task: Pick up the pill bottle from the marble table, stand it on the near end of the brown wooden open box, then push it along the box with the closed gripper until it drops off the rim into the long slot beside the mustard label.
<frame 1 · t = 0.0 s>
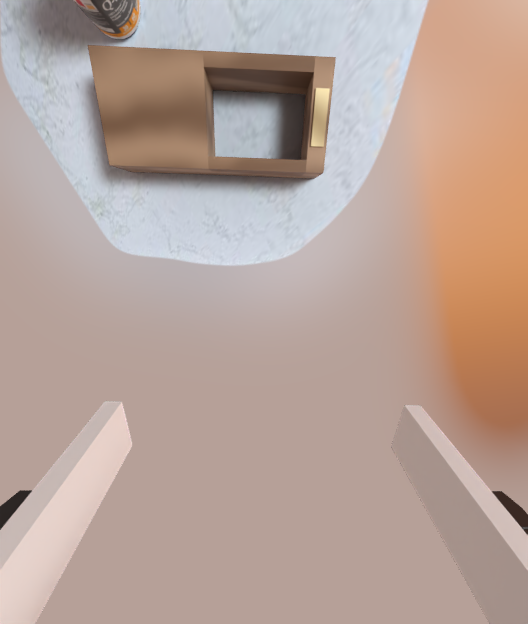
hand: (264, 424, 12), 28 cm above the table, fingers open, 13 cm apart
brown wooden open box: (222, 129, 30), on the table
pill bottle: (116, 7, 26), on the table
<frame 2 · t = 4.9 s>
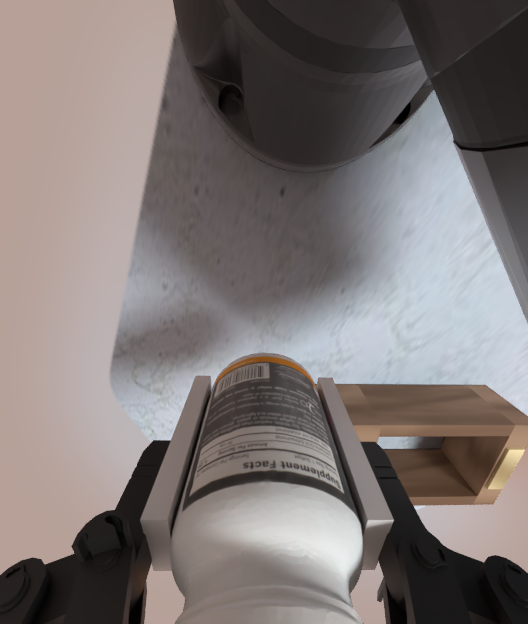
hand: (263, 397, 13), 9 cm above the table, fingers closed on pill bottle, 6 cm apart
brown wooden open box: (358, 423, 26), on the table
pill bottle: (263, 388, 14), point 8 cm above the table, touching gripper
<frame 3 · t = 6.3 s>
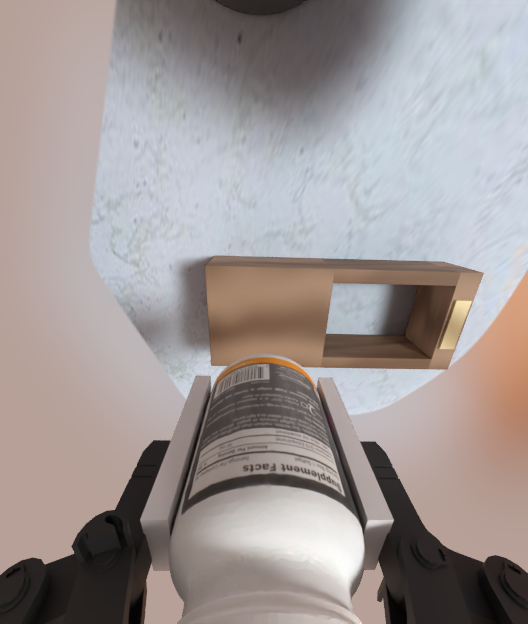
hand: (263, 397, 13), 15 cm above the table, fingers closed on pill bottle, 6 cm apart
brown wooden open box: (324, 303, 27), on the table
pill bottle: (263, 389, 14), point 14 cm above the table, touching gripper
when the fingers open (6 cm above the table, at t = 8.1 s): pill bottle stays where it is, resting on brown wooden open box.
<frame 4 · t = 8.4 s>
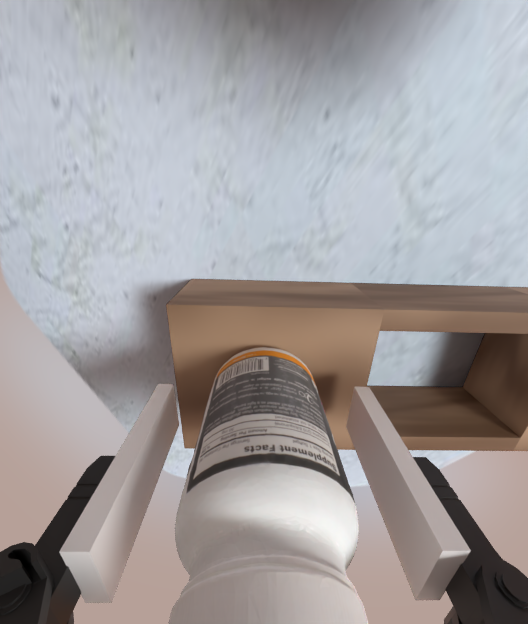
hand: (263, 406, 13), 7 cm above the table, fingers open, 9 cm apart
brown wooden open box: (352, 345, 19), on the table
pill bottle: (263, 382, 14), point 5 cm above the table, touching brown wooden open box
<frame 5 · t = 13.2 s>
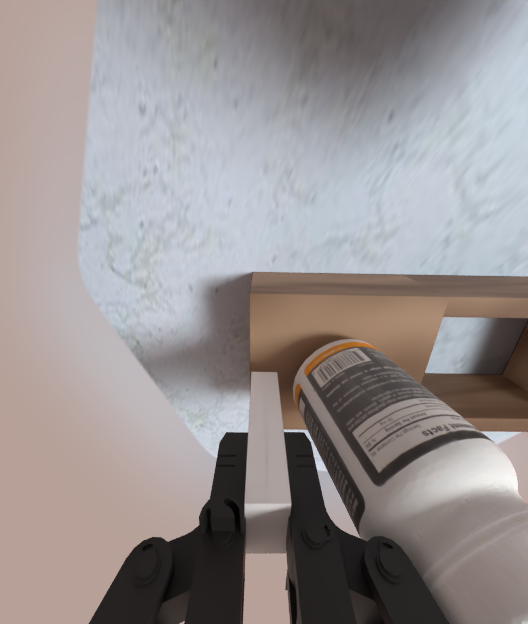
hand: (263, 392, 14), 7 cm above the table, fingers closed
brown wooden open box: (399, 334, 20), on the table
pill bottle: (332, 373, 15), point 5 cm above the table, touching brown wooden open box, gripper
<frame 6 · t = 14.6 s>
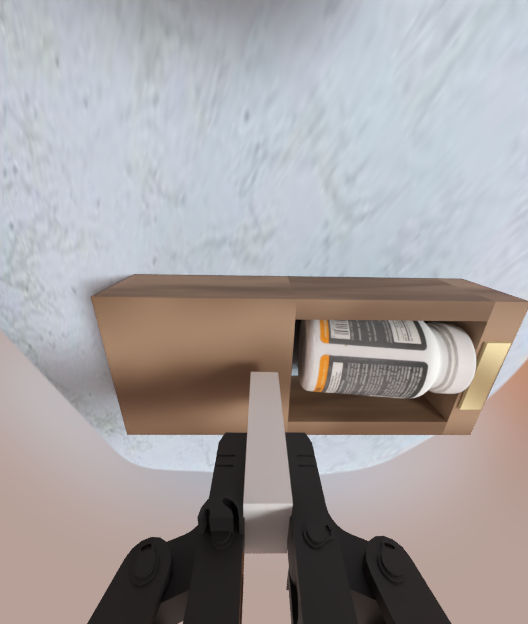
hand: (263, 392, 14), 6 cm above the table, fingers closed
brown wooden open box: (296, 337, 20), on the table
pill bottle: (298, 347, 17), point 3 cm above the table, touching brown wooden open box
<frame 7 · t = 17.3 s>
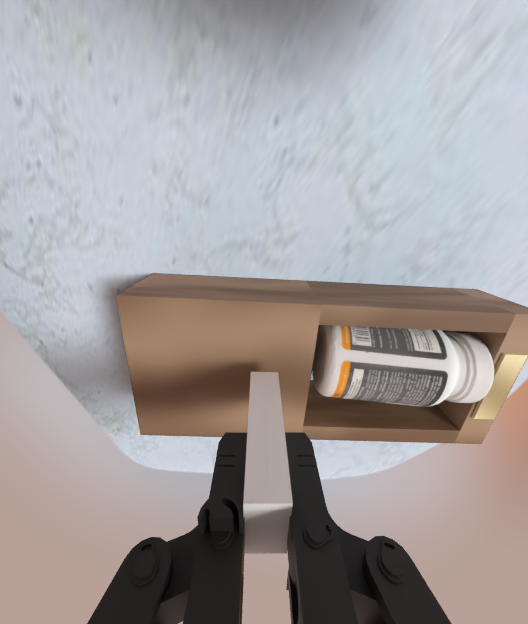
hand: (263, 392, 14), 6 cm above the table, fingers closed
brown wooden open box: (310, 341, 20), on the table
pill bottle: (315, 351, 17), point 3 cm above the table, touching brown wooden open box
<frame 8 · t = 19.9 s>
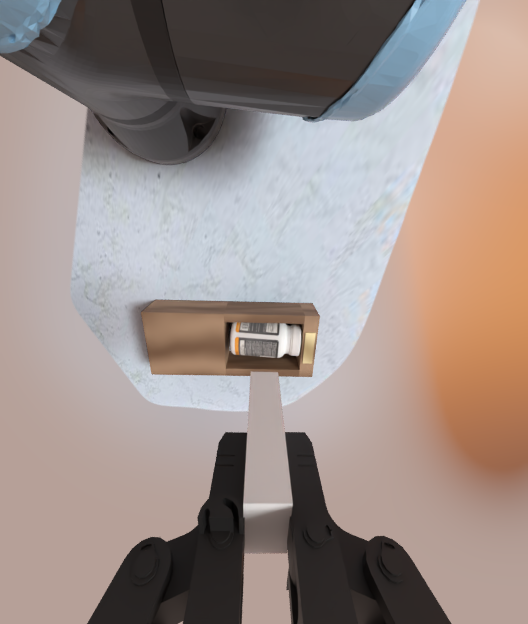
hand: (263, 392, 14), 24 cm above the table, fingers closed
brown wooden open box: (235, 330, 40), on the table
pill bottle: (231, 334, 37), point 3 cm above the table, touching brown wooden open box
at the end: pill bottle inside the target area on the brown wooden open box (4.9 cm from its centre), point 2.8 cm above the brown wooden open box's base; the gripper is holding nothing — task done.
